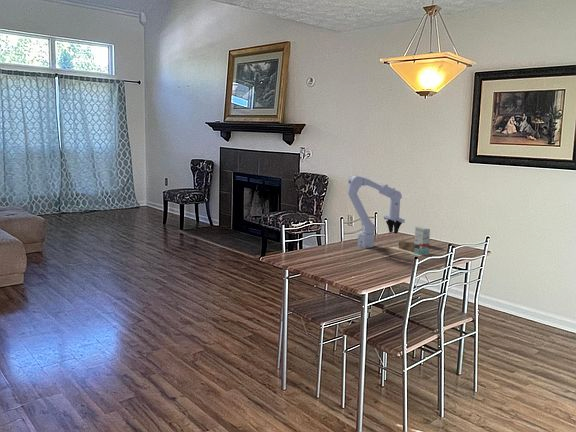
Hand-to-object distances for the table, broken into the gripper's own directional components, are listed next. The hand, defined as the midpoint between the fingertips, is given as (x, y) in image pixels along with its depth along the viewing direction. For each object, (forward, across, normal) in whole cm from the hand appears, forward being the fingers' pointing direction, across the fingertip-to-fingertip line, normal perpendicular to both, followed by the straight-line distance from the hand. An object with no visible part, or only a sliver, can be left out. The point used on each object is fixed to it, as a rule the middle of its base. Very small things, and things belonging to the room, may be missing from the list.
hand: (393, 232), depth 301 cm
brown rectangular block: (+8, -12, 0) cm, 15 cm away
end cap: (+8, -22, 0) cm, 23 cm away
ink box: (+9, -8, -17) cm, 21 cm away
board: (+9, -14, 0) cm, 16 cm away
